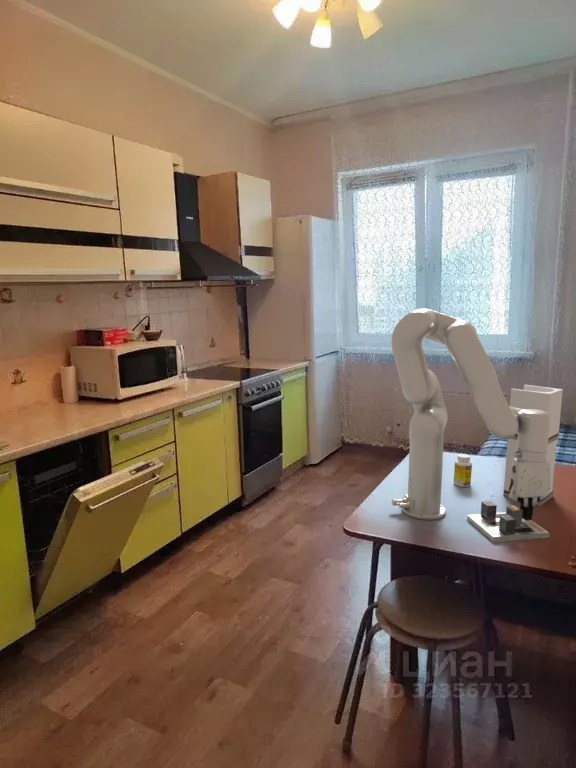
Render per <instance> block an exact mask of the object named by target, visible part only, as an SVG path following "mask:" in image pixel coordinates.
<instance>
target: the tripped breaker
mask: <svg viewBox="0 0 576 768" xmlns="http://www.w3.org/2000/svg"><path fill="white" fill-rule="evenodd" d="M505 512H506V515H511V516H512V517H513V518H515V519H516V524H522V512H523V510H521V509H520V506H517V505H507V506H506V509H505Z"/></svg>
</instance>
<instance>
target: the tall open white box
mask: <svg viewBox="0 0 576 768" xmlns="http://www.w3.org/2000/svg"><path fill="white" fill-rule="evenodd" d="M510 390H511V391H510V402H509V406H511V407H515V408H520V409H537V410H542V411H545V412H547V413H548V414H549V415H550V426H549V437H548V447H547V459H546V460H548V461H549V464H550V472H551V487H550V494H549V495H548V496H546V497H545V498H542V499H540V500H539V501H538V502H537V503H536V506H539V507H540V506H543V505H544V504H545V503H546V502H548V501H549V500H550V499H552V498H553V497H554V489H553V486H554V476H555V474H554V473H555V465H556V464H555V463H556V452H557V444H558V443H559V435H560V425H561V423H560V422H561V411H562V403H563V402H562V401H563V390H564V389H562V388H554V387H546V386H538V385H530V384H524V385H523V389H520V388H519V389H518V388H510ZM517 440H518V433H516V435H515V436H514V437H512V438H510V439H506V441H507V442H506V444H507V445H506V457H505V470H504V483H503V494H502V495H503V497H506V498H509V494H510V491H509V478H510V472H511V467H512V464H513V460H514V458H516V456H515V457H514V456H513V452H516V449H517Z"/></svg>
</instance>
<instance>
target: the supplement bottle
mask: <svg viewBox="0 0 576 768" xmlns="http://www.w3.org/2000/svg"><path fill="white" fill-rule="evenodd" d="M453 468H454V470H453V484H454V485H455V486H457V487H460V488H467V487H469V486H470V485H471V483H472V471H473V470H472V468H473V462H472V461H471V456H470V455H469V454H467V453H459V454H458V455H457V459H456V460H454V467H453Z"/></svg>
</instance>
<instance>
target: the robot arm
mask: <svg viewBox="0 0 576 768" xmlns="http://www.w3.org/2000/svg"><path fill="white" fill-rule="evenodd" d="M425 339H427V340H431V341H434V342H436V343H438V344H442V345H445V347H446V349H447V350H448V352H449V354H450V355H449V356H451V358H452V360H453V361H454V363H455V365H456V367H457V369H458V372H459V373H460V376H461V377H462V380H463V381H464V383H465V386H466V387H467V390H468V392H469V394H470V396H471V397H472V400H473V402H474V404H475V406H476V408H477V411H478V413H479V414H480V417H481V418H482V419H481V420H483V423H484V424H485V426H486V428H487V430H488V431H489V433H490V434H491V435H492V436H493V437H494V438H496V439H498V440H506V441H507V440H508V439H510V438H512V437H514V436H515V435H516V433H518V440H517V449H516V452H513V456H514V457H515V456H516V458H514V460H513V464H512V467H511V472H510V478H509V491H510V494H509V497H508V498H509V499H511V500H512V501H517V502H518V503H519V505H520V506H519V508H520V509H521V510H523V512H522V518H523V519H525V520H532V521H533V516H534V509H535V507H536V506H537V505H536V503H537V502H538V501H539V500H540V499H542V498H545V497H546V496H548V495H549V494H550V487H551V472H550V464H549V461H548V460H546V459H547V447H548V437H549V426H550V415H549V414H548V413H547V412H545V411H542V410H537V409H520V408H515V407H511V406H510V404H509V403H508V401H507V399H506V397H505V395H504V393H503V390H502V388H501V386H500V383H499V379H498V375H497V372H496V369H495V366H494V365H493V363H492V361H491V359H490V357H489V356H488V354H487V352H486V350H485V348H484V347H483V345H482V342H481V340H480V339H479V337H478V333H477V329H476V328H475V326H474V325H473V324H472V323H471V322H470V321H467V320H464V319H461V318H457V317H454V316H451V315H449V314H448V315H447V314H445V313H442V312H439V311H436V310H433V309H430V308H423V307H422V308H416V309H414V310H411V311H409V312H408V313H406V314H405V315H404V316H403V317H402V318H401V319H400V320H399V321H398V322H397V324H396V325H395V327H394V329H393V331H392V334H391V350H392V354H393V358H394V363H395V366H396V371H397V373H398V379H399V382H400V386H401V390H402V394H403V396H404V398H405V399H406V400H407V402H409V403H411V405H412V407H413V412H414V413H413V415H412V417H411V418H410V420H409V426H408V438H409V451H408V454H409V456H408V461H409V462H408V483H407V486H408V487H407V493H405V494H404V497H401V498H393V499H391V505H392V506H393V507H395V506H397V507H398V508H399V509H401V511H402V512H403V513H404V514H405V515H406V516H409V517H411V518H414V519H419V520H429V521H430V520H431V521H432V520H438V519H439V520H440V519H441V518H444V516H445V515H446V511H447V510H446V507H444V506H443V505H442V504H441V502H442V500H441V499H442V482H443V481H442V480H443V465H444V463H443V457H444V432H445V429H446V425H447V423H448V418H449V417H448V412H447V411H448V410H447V408H446V407H447V406H446V404H445V400H444V396H443V393H442V388H441V386H440V385H441V384H440V382H439V379H438V377H437V375H436V374H435V373H434V372H433V371H432V370H431V369H429V367H428V364H427V359H426V355H425V352H424V350H423V349H424V348H423V340H425Z"/></svg>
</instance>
